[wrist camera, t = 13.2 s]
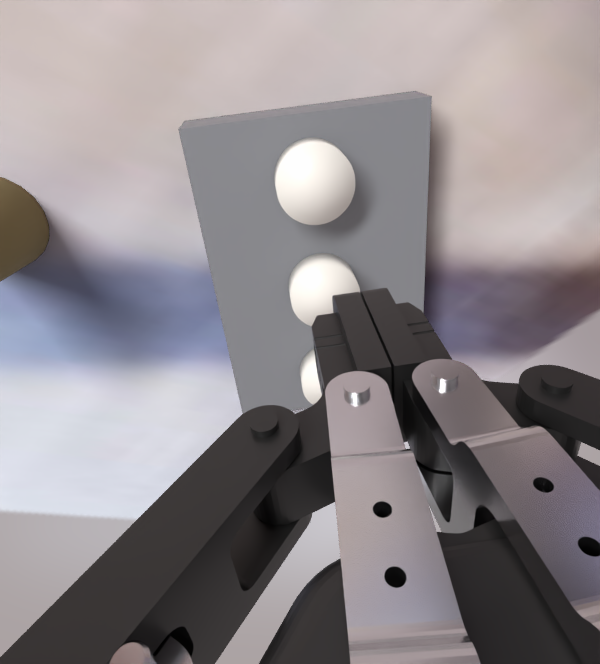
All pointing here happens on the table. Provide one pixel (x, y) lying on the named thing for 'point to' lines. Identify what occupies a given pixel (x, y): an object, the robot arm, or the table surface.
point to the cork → (20, 228)
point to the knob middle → (319, 285)
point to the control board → (301, 239)
